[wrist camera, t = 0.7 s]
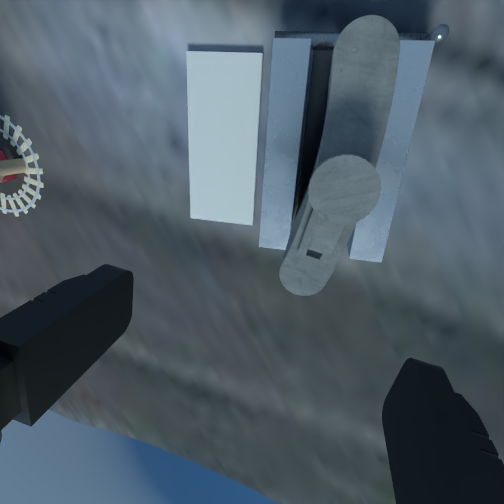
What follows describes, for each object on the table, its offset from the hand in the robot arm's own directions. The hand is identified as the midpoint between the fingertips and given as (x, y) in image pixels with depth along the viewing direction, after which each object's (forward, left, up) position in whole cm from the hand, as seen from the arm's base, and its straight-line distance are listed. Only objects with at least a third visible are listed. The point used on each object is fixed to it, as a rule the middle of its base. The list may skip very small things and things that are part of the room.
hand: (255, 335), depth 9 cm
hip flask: (-2, -3, -29) cm, 30 cm away
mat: (+10, -3, -29) cm, 31 cm away
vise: (-2, -3, -29) cm, 29 cm away
